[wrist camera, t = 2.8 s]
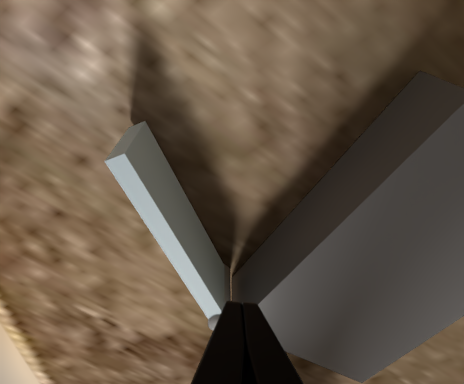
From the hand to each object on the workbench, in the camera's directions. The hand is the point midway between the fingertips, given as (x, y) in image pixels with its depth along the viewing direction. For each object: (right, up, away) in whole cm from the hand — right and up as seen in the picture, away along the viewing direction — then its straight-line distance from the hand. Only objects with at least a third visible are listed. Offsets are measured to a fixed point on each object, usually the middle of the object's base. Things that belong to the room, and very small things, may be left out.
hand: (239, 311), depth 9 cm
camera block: (+7, +1, +9) cm, 12 cm away
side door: (-3, +2, +8) cm, 9 cm away
